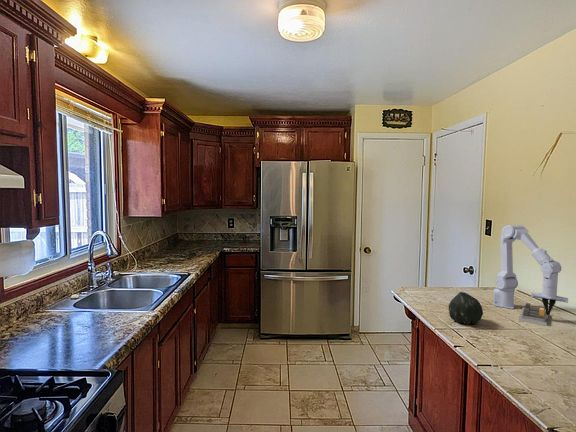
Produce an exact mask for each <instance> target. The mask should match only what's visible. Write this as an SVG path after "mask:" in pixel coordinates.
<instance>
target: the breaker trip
mask: <svg viewBox="0 0 576 432" xmlns="http://www.w3.org/2000/svg"><path fill="white" fill-rule="evenodd" d="M538 310H539V315H542V316H544V311H546V310H545V307H539V309H538Z"/></svg>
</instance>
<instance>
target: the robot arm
mask: <svg viewBox="0 0 576 432" xmlns="http://www.w3.org/2000/svg"><path fill="white" fill-rule="evenodd" d="M499 239H500V240H499V242H500V243H499V245H500V250H499V252H500V271H499V273H497V275H496V280H495V286H496V288H494V290H493V300H492V301H493V302H492V303H493V304H492V305H493V307H500V308H503V309H504V308H507V309H509V310H510V309H511V310H514V308H515V306H516V304H514V303H515V302H514V301H515V300H514V299H515V290H516V288H517V287H518V286H519V280H518V278H517V275H516V273H514V268H513V267H514V265H513V264H514V263H513V262H514V261H513V243H514V242H515V241H517V240H520V241H522V242H523V244H524V245H526V246H527V248H528V249H529V250H530V251H531V252H532V254H531V255H532V257H533V258H534V260H536V262H537V264H539V266H540V271H541V272H542V287H541V289H542V290H541V293H538V292H537V293H536V292H531V293H530V298H533V299H534V298H535V299H541V302H542V304H543V306H544V307H543V308H544V309H545V311H546V315H548V316H550V315H551V311H552V309H553V307H554V306H555V304H556V302H560V303H561V302H563V303H565V304H568V303H569V298H568V297H564V296H560V295H558V294H557V293H558V282H559V279H558V278H559V273H561V271H562V265H561V264H560V262H559V261H557V260H554V258H552V257H551V256H550V255H549V253H548V251H547V250H546V249H544V248H540V247H539V246H538V244H537V243H536V241H535V240H534V239H533V238H532V236H531V235H530V234H529V230H528V229H527V228H526V227H525V226H524V225H523V224H517V225H515V224H514V225H512V224H511V225H508V224H507V225H505V226H504V227H503V228H501V236H500V238H499Z"/></svg>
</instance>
